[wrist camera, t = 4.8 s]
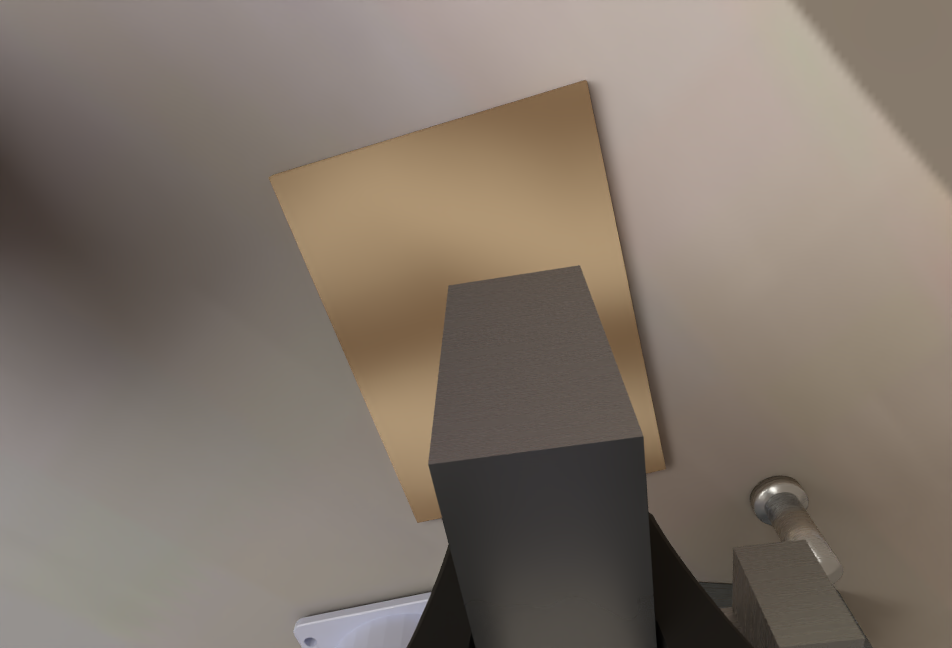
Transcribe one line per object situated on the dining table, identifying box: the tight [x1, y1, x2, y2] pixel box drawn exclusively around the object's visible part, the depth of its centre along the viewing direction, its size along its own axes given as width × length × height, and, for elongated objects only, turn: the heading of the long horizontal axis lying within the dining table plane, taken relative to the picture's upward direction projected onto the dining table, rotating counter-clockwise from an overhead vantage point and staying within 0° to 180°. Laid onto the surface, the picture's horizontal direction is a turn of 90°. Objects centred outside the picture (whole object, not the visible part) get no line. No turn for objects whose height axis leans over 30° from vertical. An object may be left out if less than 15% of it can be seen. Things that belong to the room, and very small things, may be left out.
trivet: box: [269, 80, 666, 523], centre depth 20 cm, size 13×9×1 cm
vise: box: [699, 476, 872, 648], centre depth 23 cm, size 9×7×4 cm
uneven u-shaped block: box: [428, 265, 865, 648], centre depth 12 cm, size 11×7×5 cm, turn 10°
